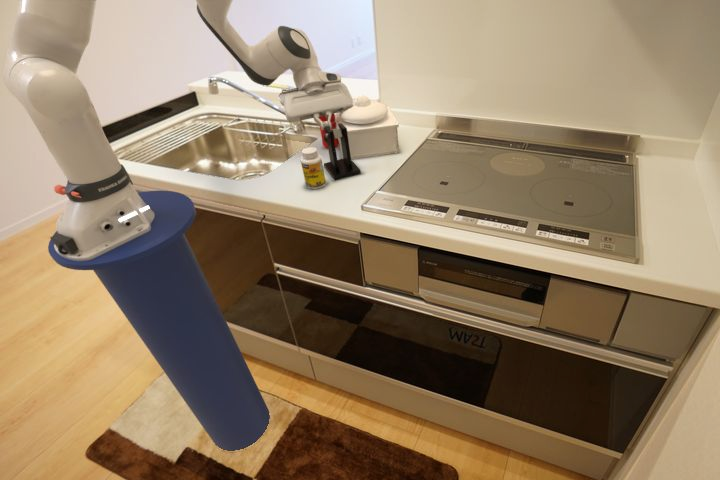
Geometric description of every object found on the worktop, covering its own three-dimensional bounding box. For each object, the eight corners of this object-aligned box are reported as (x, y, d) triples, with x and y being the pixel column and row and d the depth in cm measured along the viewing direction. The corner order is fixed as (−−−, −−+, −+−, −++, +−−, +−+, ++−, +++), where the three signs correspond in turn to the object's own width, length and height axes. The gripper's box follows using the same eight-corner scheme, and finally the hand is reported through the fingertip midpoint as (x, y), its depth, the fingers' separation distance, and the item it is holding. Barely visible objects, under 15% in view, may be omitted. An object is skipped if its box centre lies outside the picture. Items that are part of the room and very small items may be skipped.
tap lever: (324, 145, 124) (321, 134, 123) (334, 142, 125) (331, 131, 124) (333, 140, 112) (330, 128, 112) (344, 137, 113) (341, 125, 112)
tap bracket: (324, 167, 123) (316, 124, 115) (349, 160, 125) (343, 118, 117) (334, 180, 116) (326, 136, 108) (361, 173, 118) (355, 130, 110)
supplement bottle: (303, 189, 113) (295, 154, 107) (310, 179, 117) (303, 145, 111) (322, 190, 112) (315, 155, 106) (329, 180, 116) (322, 146, 110)
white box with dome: (338, 138, 139) (330, 89, 129) (390, 131, 141) (387, 82, 131) (342, 160, 126) (334, 107, 116) (400, 152, 128) (397, 100, 118)
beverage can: (333, 141, 137) (327, 105, 130) (342, 146, 134) (336, 109, 126) (320, 146, 135) (313, 109, 127) (328, 151, 132) (322, 113, 124)
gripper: (276, 85, 116) (292, 130, 115) (344, 73, 122) (360, 116, 121) (276, 97, 122) (292, 140, 121) (342, 85, 128) (356, 126, 127)
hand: (326, 128), depth 121 cm, fingers closed
